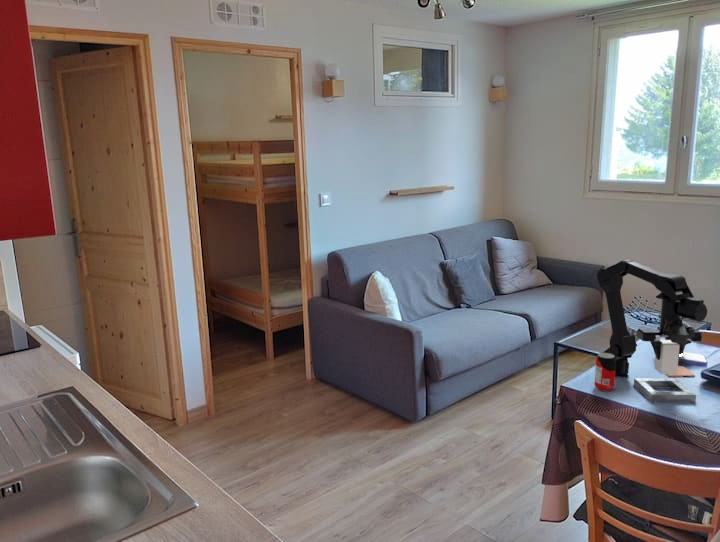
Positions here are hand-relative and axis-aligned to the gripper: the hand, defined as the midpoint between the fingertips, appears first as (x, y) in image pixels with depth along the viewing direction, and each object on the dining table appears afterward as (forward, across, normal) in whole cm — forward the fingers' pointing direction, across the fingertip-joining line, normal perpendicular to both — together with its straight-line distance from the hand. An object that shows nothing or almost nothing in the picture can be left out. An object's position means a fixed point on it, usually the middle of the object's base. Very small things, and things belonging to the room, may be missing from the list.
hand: (666, 359), depth 188 cm
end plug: (+4, 0, 0) cm, 4 cm away
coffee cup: (+12, +21, +37) cm, 44 cm away
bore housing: (+12, 0, 0) cm, 12 cm away
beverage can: (+12, -18, +4) cm, 22 cm away
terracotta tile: (+12, +13, +19) cm, 26 cm away
